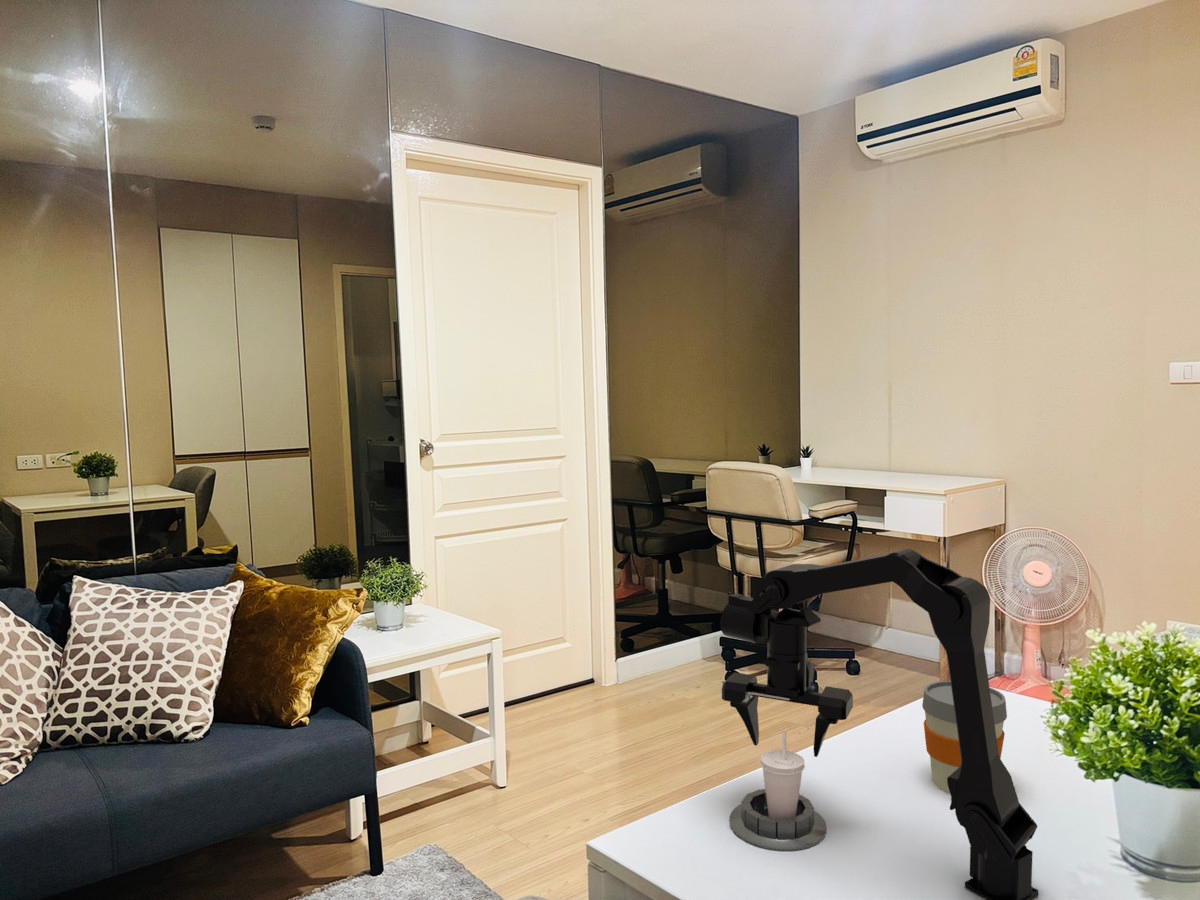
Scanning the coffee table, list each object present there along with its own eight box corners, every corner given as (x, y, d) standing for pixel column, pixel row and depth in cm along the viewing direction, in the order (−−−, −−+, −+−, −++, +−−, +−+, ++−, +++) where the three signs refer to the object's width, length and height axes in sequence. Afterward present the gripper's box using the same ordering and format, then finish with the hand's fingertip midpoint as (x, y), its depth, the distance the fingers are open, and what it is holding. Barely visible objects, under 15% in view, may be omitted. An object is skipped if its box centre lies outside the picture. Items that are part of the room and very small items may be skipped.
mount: (846, 832, 127) (847, 811, 127) (776, 861, 119) (776, 839, 119) (778, 794, 139) (778, 775, 138) (710, 818, 131) (710, 798, 131)
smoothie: (773, 837, 125) (773, 741, 123) (752, 815, 131) (752, 724, 130) (812, 829, 127) (813, 735, 125) (789, 808, 133) (790, 719, 132)
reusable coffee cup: (925, 798, 137) (927, 705, 136) (916, 763, 149) (918, 677, 148) (1012, 806, 134) (1015, 711, 133) (996, 770, 146) (998, 683, 145)
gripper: (860, 642, 134) (858, 741, 135) (743, 627, 143) (742, 720, 144) (846, 664, 124) (844, 770, 126) (720, 647, 133) (720, 746, 134)
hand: (785, 750), depth 132 cm, fingers open, 9 cm apart
